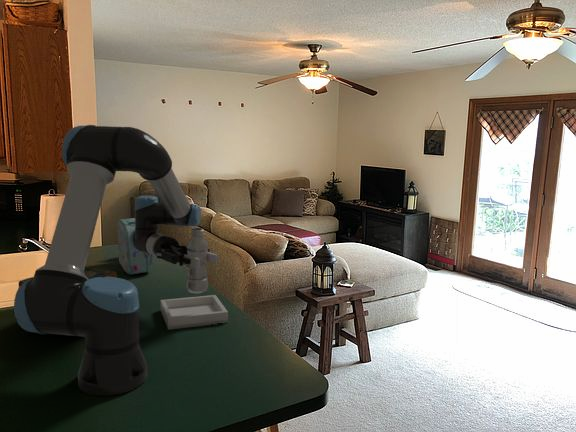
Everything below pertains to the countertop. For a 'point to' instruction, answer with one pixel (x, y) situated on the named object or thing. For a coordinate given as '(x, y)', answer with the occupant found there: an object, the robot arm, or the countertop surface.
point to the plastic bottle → (199, 250)
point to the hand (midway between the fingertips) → (207, 261)
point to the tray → (193, 312)
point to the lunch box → (131, 250)
